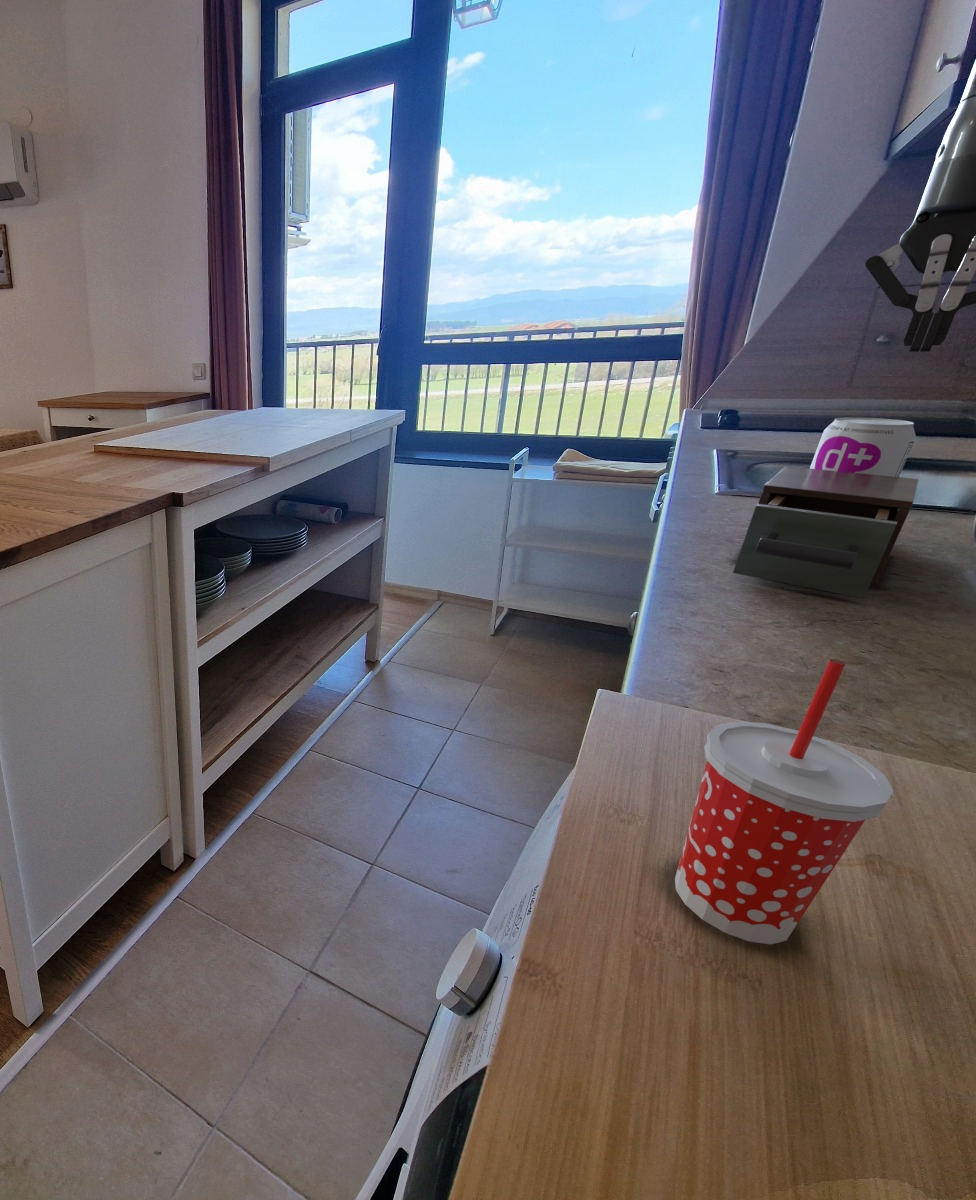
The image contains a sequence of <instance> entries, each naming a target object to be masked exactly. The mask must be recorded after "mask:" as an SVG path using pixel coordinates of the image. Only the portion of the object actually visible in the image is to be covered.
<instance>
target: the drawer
mask: <svg viewBox="0 0 976 1200" xmlns="http://www.w3.org/2000/svg"><path fill="white" fill-rule="evenodd" d="M890 510H891V507H887V506H878V505H870V504H862V503H853V502H845V501H836V500H828V499H820V498H811V497H803V496H794V495H786V494H778V495H777V496H776V497H775V498H774V499H773V500H772V501H771V502H770V503H769V504H768V505H764V504H758V503H757V504H756V505H755V507H754V510H753V513H752V516H751V519H750V521H749V524H748V527H747V529H746V533H745V535H744V540H743V542H742V544H741V548H740V551H739V554H738V556H737V559H736V562H735V565H734V568H733V570H732V573H733V574H736V575H742V576H747V577H751V578H752V577H753V578H758V579H763V580H768V581H773V582H777V583H784V584H788V585H793V586H798V587H804V588H810V589H815V590H820V591H823V592H829V593H835V594H839V595H840V594H841V595H846V596H850V597H856V598H860V599H865V597H866V595H867V592H868V591H869V588H870V587H869V586H870V584H871V581H872V579H873V577H874V575H875V572H876V570H877V568H878V566H879V563H880V561H881V559H882V557H883V554H884V552H885V550H886V548H887V545H888V543H889V541H890V538H891V536H892V534H893V532H894V529H895V527H896V525H897V522H895V521H888V520H887V519H888V516H889V513H890Z"/></svg>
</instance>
